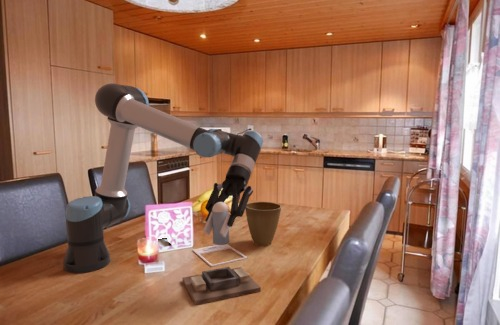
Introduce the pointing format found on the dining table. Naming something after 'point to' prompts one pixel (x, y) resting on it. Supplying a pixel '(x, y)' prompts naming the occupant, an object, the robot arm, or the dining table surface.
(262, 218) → the plant pot
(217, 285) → the jig board
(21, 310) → the dining table surface
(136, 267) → the dining table surface
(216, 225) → the grey cylinder bottle
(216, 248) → the photo frame
